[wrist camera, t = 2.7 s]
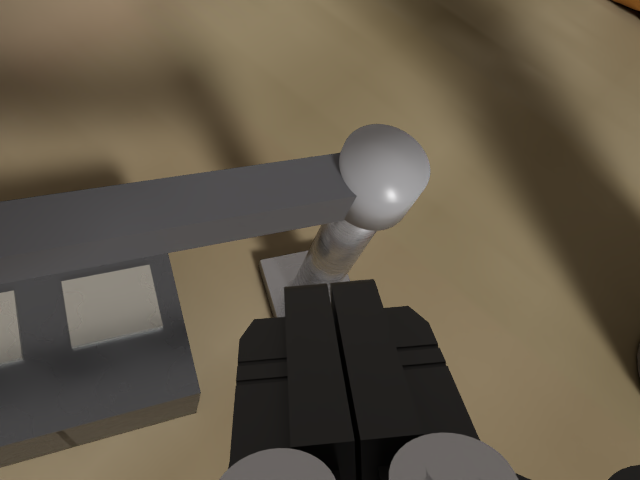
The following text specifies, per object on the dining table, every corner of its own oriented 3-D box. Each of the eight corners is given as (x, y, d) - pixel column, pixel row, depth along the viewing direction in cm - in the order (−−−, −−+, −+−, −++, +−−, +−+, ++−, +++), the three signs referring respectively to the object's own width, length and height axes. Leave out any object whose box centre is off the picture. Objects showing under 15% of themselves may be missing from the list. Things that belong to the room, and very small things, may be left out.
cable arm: (383, 166, 27) (415, 111, 24) (411, 234, 26) (449, 187, 22) (-224, 260, 20) (-309, 201, 16) (-228, 363, 18) (-322, 323, 15)
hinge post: (333, 250, 37) (397, 141, 27) (359, 323, 35) (438, 236, 25) (258, 265, 35) (295, 156, 25) (281, 343, 34) (330, 259, 23)
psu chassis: (157, 245, 35) (156, 201, 30) (195, 412, 31) (200, 391, 26) (-76, 288, 31) (-119, 244, 26) (-63, 485, 27) (-111, 475, 22)
